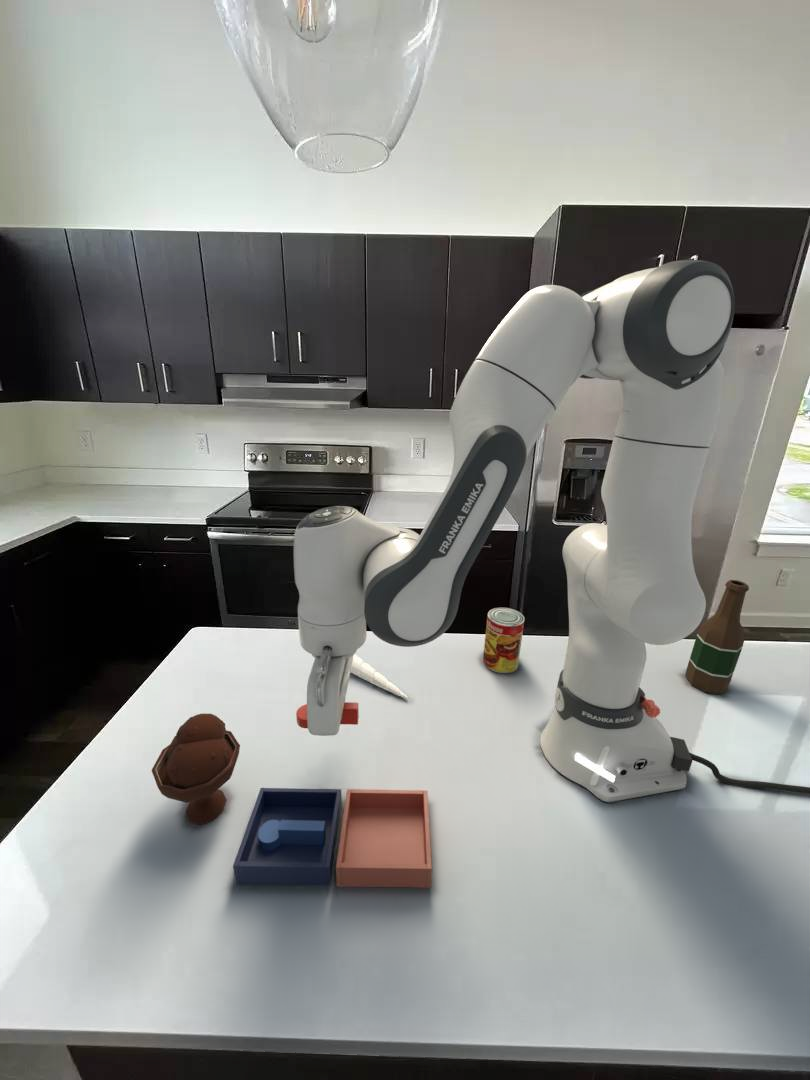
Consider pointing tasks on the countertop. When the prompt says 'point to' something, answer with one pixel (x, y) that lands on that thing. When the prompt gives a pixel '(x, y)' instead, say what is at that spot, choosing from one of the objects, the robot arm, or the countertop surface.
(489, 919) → the countertop surface
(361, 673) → the unicorn horn
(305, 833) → the blue elongated piece
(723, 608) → the beer bottle
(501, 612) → the canned food
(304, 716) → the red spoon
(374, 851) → the red bin
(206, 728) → the ice cream bowl
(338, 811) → the blue bin
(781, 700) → the countertop surface
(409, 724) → the countertop surface
